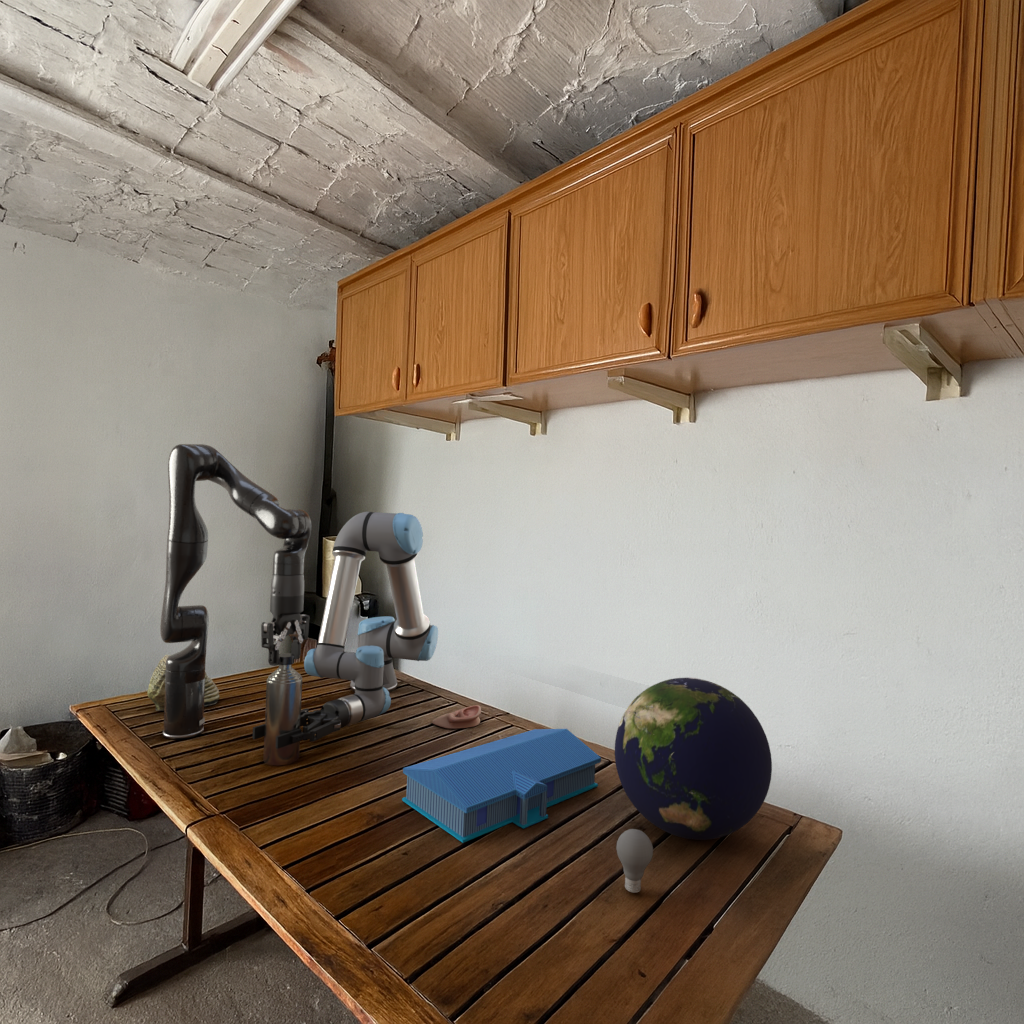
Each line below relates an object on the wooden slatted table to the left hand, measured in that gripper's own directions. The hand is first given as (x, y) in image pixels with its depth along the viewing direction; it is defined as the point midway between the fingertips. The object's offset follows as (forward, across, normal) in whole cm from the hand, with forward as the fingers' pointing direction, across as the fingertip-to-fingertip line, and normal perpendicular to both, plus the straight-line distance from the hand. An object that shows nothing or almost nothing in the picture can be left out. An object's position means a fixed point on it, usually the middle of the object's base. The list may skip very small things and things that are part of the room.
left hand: (284, 661), depth 151 cm
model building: (+23, +8, -56) cm, 61 cm away
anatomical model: (+23, +42, -26) cm, 55 cm away
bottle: (+23, 0, 0) cm, 23 cm away
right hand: (+17, -4, +1) cm, 18 cm away
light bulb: (+23, -14, -88) cm, 92 cm away
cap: (-1, 0, 0) cm, 1 cm away
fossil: (+23, +15, +50) cm, 57 cm away
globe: (+23, +10, -93) cm, 97 cm away
